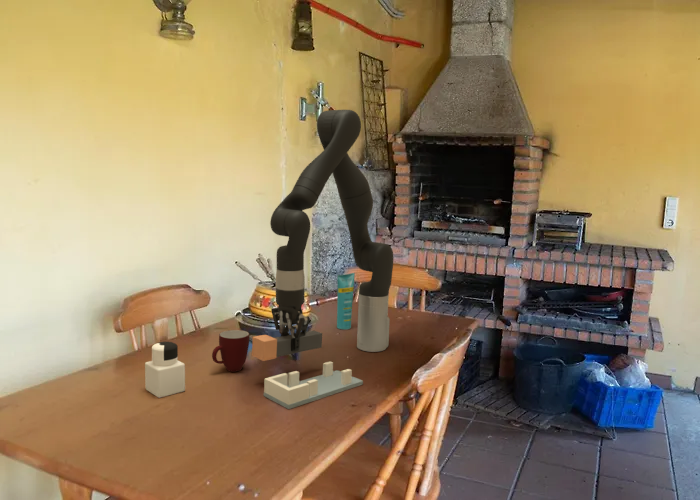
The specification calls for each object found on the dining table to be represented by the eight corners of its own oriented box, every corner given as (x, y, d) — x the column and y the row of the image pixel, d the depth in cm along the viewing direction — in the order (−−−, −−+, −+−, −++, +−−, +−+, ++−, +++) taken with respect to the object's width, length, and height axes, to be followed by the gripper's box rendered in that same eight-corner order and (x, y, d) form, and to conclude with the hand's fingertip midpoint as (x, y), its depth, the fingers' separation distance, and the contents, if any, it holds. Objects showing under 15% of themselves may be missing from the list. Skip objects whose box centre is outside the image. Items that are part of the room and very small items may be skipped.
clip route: (337, 373, 162) (337, 357, 162) (362, 384, 155) (363, 368, 155) (263, 395, 146) (263, 378, 145) (288, 409, 138) (289, 390, 138)
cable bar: (311, 343, 166) (312, 326, 165) (323, 348, 162) (324, 330, 162) (251, 355, 152) (252, 336, 151) (263, 361, 148) (264, 341, 148)
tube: (341, 331, 202) (342, 276, 199) (331, 328, 205) (333, 273, 202) (356, 327, 207) (358, 273, 204) (346, 324, 211) (348, 271, 208)
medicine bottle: (171, 382, 152) (171, 337, 150) (185, 391, 147) (185, 344, 145) (145, 389, 147) (144, 343, 145) (158, 398, 142) (157, 350, 140)
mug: (224, 379, 155) (224, 342, 154) (205, 371, 161) (205, 335, 159) (254, 369, 163) (255, 334, 162) (236, 362, 169) (236, 328, 167)
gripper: (318, 288, 152) (318, 352, 155) (285, 279, 162) (285, 339, 165) (295, 293, 147) (295, 359, 150) (262, 283, 157) (262, 345, 160)
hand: (290, 348), depth 157 cm, fingers closed on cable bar, 3 cm apart
